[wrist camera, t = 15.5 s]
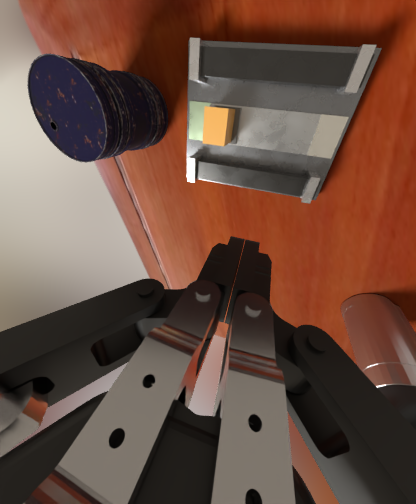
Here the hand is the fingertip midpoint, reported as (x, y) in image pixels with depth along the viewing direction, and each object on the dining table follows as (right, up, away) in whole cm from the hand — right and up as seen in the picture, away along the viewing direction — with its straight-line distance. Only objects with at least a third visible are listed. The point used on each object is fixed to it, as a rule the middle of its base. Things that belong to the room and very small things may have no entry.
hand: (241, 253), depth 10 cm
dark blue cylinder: (-13, +24, +23) cm, 35 cm away
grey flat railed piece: (+6, +19, +19) cm, 27 cm away
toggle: (+1, +19, +18) cm, 26 cm away
